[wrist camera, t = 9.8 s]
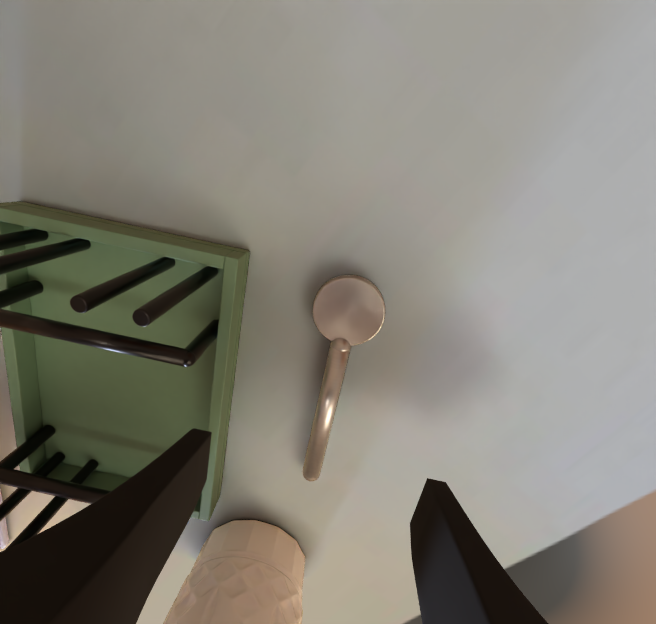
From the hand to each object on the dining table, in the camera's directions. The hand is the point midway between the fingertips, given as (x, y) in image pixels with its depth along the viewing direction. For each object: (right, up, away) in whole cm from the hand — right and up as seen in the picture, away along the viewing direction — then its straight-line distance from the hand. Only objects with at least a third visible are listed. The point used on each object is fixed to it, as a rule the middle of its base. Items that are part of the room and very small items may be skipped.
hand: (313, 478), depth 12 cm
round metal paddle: (+1, +2, +7) cm, 7 cm away
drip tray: (-10, +2, +8) cm, 13 cm away
